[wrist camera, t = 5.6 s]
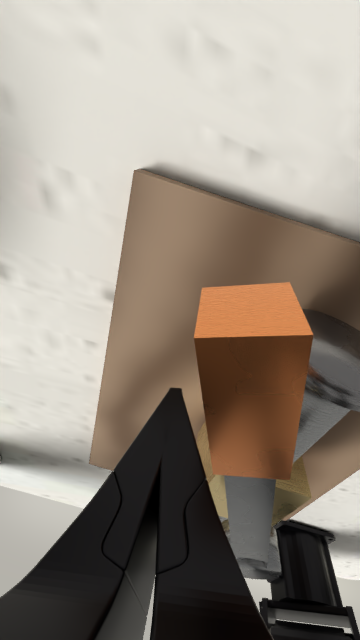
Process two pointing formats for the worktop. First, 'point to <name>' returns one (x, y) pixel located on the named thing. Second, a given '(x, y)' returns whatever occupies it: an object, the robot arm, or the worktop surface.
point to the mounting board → (183, 303)
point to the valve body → (308, 409)
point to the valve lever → (252, 406)
